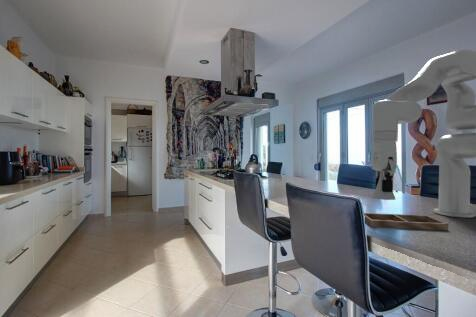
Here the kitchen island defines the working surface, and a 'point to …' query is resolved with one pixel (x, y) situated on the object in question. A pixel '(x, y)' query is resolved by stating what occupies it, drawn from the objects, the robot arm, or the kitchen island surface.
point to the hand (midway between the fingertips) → (383, 190)
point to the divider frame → (404, 221)
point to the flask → (378, 191)
